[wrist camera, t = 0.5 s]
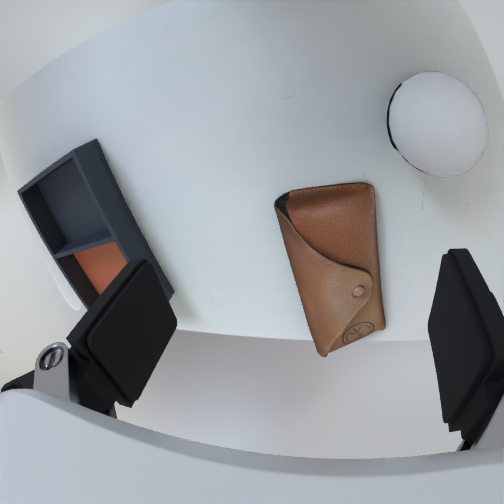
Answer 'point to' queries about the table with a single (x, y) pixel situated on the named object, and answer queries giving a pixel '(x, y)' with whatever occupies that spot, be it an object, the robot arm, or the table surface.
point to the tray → (86, 222)
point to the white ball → (437, 124)
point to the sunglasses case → (334, 260)
